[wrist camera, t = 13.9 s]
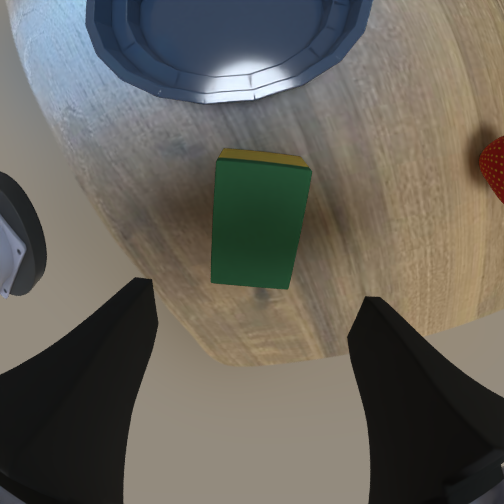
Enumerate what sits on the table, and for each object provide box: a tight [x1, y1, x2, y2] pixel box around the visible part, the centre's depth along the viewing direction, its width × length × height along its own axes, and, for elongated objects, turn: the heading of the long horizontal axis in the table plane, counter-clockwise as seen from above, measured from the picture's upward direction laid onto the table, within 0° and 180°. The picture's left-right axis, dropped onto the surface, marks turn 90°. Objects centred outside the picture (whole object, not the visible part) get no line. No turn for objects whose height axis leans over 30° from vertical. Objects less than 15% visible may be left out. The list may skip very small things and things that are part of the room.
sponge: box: [211, 148, 312, 289], centre depth 16 cm, size 7×4×4 cm, turn 174°
